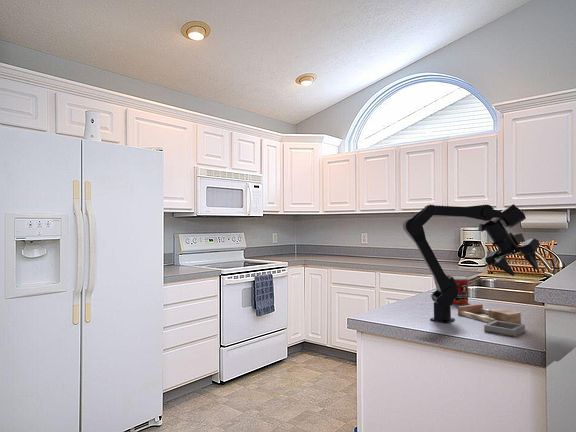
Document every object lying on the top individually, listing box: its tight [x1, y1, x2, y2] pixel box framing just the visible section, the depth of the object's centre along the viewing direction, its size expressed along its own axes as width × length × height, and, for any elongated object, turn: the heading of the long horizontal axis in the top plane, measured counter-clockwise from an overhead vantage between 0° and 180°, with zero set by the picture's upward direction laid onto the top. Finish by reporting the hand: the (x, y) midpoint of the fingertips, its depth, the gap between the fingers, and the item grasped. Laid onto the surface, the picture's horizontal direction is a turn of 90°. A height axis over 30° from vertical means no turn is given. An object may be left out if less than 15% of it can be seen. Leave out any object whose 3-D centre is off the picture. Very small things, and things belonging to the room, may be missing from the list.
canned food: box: [450, 275, 469, 305], centre depth 178 cm, size 8×8×11 cm
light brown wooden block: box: [488, 308, 522, 324], centre depth 144 cm, size 8×6×4 cm
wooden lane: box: [457, 303, 495, 324], centre depth 151 cm, size 16×11×3 cm
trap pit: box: [483, 320, 526, 338], centre depth 132 cm, size 9×9×2 cm
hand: (525, 272), depth 145 cm, fingers open, 9 cm apart
